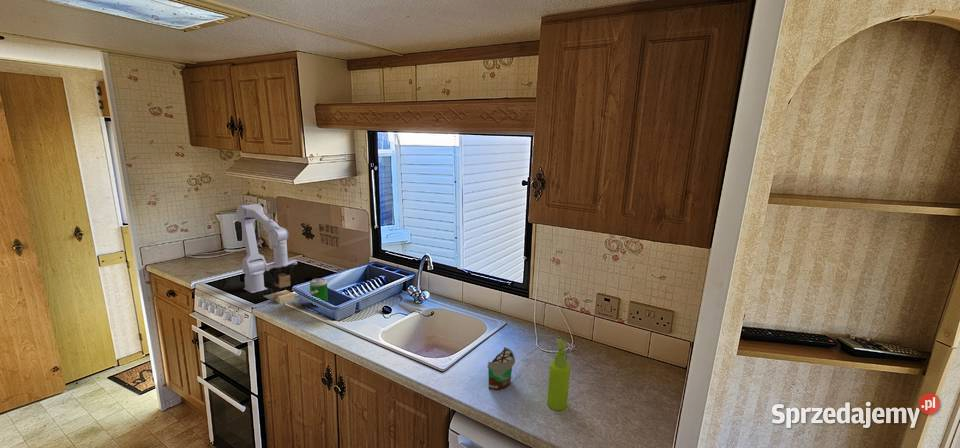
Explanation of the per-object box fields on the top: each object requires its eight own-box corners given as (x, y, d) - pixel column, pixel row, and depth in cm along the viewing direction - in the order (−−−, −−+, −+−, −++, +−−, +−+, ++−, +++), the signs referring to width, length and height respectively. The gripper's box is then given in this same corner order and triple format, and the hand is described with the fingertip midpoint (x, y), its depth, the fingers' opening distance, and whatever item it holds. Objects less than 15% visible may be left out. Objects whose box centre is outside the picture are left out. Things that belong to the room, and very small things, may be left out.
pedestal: (272, 299, 192) (272, 293, 191) (286, 295, 197) (286, 290, 197) (280, 303, 188) (279, 297, 187) (294, 299, 193) (294, 293, 193)
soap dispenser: (563, 396, 126) (568, 337, 122) (569, 410, 119) (574, 349, 116) (544, 396, 126) (549, 337, 122) (549, 410, 119) (554, 348, 115)
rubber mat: (263, 297, 196) (263, 296, 196) (285, 291, 205) (285, 290, 205) (279, 305, 187) (278, 303, 187) (301, 298, 196) (301, 297, 196)
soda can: (324, 300, 195) (323, 276, 193) (330, 305, 189) (329, 281, 187) (308, 303, 190) (307, 279, 188) (313, 308, 185) (312, 284, 182)
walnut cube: (274, 285, 191) (274, 275, 190) (285, 283, 195) (284, 273, 194) (280, 288, 188) (279, 278, 187) (290, 285, 192) (289, 275, 191)
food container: (503, 397, 125) (505, 368, 123) (486, 391, 128) (487, 362, 126) (519, 378, 135) (521, 351, 133) (503, 372, 138) (504, 346, 136)
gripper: (269, 259, 180) (271, 287, 183) (299, 252, 192) (301, 279, 194) (261, 256, 184) (263, 284, 187) (291, 250, 196) (293, 276, 198)
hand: (282, 281), depth 191 cm, fingers closed on walnut cube, 5 cm apart
